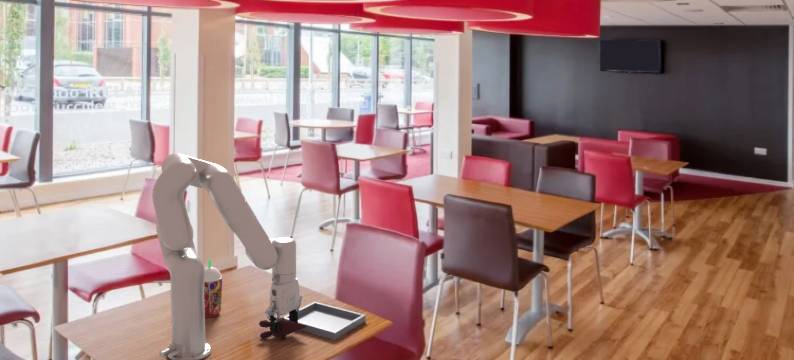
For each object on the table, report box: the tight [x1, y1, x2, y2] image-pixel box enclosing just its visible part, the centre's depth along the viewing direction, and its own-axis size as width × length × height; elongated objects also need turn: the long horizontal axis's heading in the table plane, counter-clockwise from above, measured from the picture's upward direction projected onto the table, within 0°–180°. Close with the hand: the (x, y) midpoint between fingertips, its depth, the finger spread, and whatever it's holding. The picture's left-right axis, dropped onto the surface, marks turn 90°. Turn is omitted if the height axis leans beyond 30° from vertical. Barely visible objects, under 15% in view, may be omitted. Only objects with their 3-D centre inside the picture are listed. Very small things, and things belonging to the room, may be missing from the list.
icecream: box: [258, 316, 306, 339], centre depth 210 cm, size 7×7×15 cm
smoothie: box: [204, 258, 223, 318], centre depth 226 cm, size 8×8×20 cm
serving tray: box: [281, 301, 367, 341], centre depth 223 cm, size 18×22×2 cm
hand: (284, 327), depth 211 cm, fingers open, 8 cm apart
